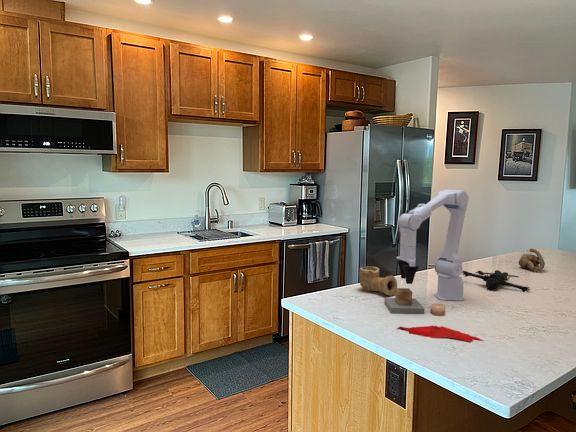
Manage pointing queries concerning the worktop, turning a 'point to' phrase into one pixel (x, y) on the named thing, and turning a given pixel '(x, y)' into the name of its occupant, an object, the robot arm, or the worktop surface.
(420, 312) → the slate base
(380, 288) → the pipe
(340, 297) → the worktop surface
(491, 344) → the worktop surface
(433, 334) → the cloth
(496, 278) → the toy
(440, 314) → the terracotta puck
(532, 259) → the tan lumpy piece
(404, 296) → the walnut cube
